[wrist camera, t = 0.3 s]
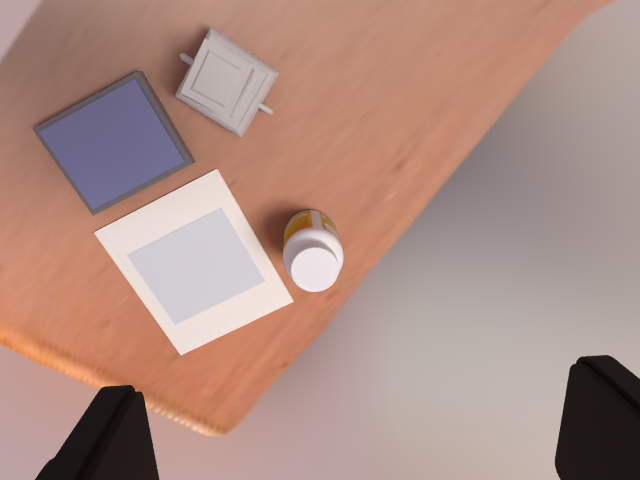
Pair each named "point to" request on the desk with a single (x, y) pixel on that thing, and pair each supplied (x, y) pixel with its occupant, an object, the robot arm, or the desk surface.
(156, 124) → the ink pad
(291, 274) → the supplement bottle
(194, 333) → the paper
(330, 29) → the desk surface
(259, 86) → the stamp
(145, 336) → the desk surface
